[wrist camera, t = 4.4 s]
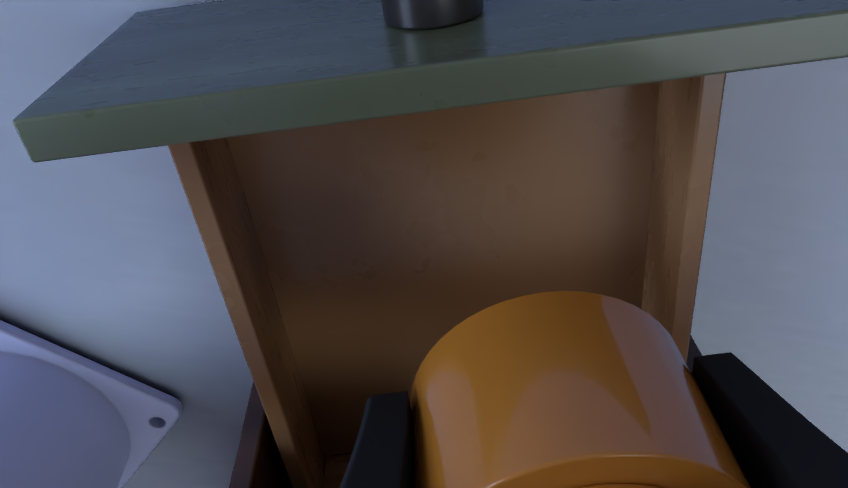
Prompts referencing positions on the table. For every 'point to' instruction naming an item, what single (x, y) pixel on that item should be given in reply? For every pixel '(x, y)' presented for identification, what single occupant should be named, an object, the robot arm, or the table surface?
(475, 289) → the drawer
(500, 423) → the jar
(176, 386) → the table surface
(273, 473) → the cabinet
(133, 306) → the table surface
